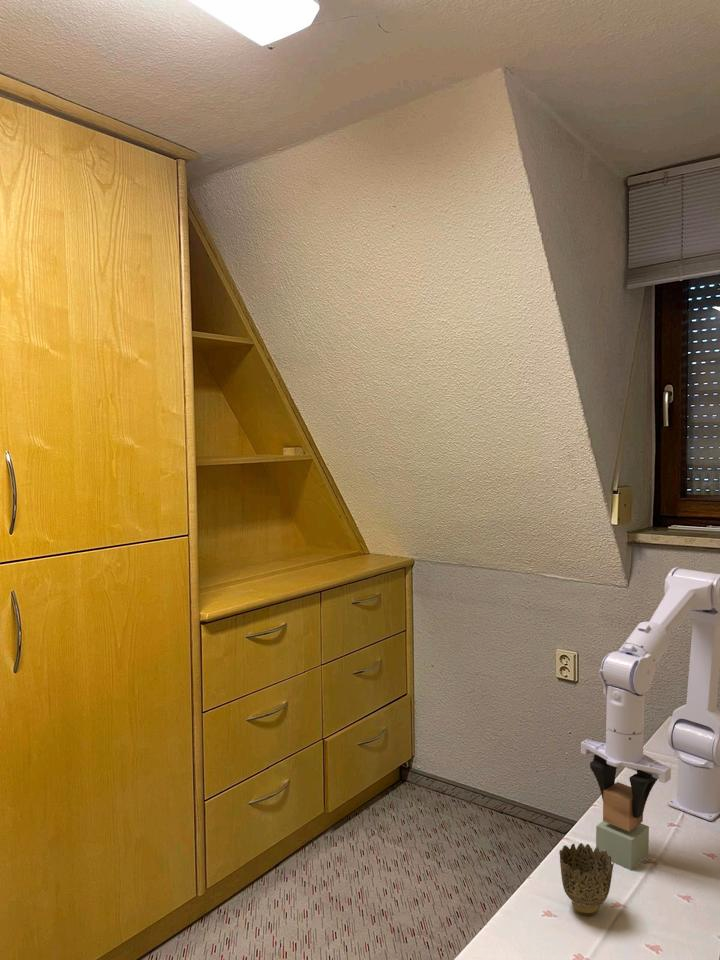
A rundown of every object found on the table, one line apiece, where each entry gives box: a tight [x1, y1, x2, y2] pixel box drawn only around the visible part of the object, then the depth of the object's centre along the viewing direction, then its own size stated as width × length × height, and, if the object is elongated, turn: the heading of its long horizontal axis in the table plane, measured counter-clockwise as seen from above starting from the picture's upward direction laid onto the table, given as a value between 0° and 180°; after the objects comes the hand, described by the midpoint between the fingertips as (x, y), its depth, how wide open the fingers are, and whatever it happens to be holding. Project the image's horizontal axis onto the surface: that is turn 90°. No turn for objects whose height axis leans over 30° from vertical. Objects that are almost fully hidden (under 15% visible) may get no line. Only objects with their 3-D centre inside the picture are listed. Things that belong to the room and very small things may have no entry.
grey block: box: [595, 820, 650, 871], centre depth 120 cm, size 6×6×5 cm
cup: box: [559, 842, 615, 917], centre depth 106 cm, size 8×7×8 cm
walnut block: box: [602, 781, 644, 832], centre depth 120 cm, size 4×4×5 cm
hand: (623, 809), depth 120 cm, fingers closed on walnut block, 4 cm apart
